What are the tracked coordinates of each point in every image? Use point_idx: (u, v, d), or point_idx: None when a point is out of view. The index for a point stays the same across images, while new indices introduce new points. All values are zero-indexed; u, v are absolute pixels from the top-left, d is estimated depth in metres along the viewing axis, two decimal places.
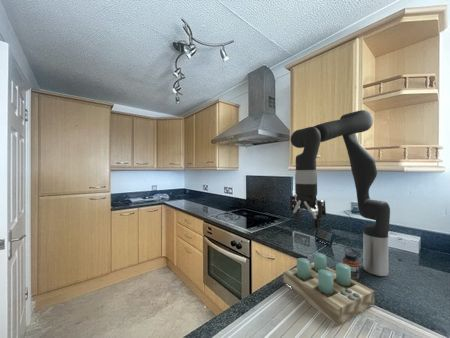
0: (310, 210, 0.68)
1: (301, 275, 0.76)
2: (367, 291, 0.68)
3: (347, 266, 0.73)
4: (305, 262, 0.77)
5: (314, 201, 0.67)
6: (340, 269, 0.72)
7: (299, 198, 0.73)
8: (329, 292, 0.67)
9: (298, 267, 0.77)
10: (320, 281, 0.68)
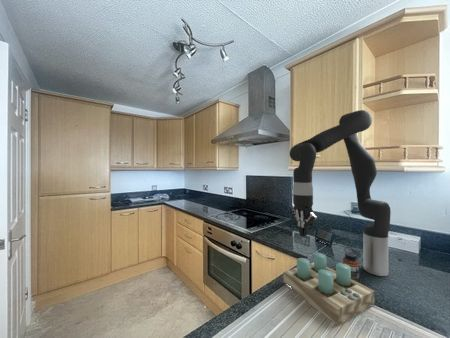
0: (302, 220, 0.76)
1: (301, 275, 0.76)
2: (367, 291, 0.68)
3: (347, 266, 0.73)
4: (305, 262, 0.77)
5: (309, 213, 0.74)
6: (340, 269, 0.72)
7: (296, 208, 0.79)
8: (329, 292, 0.67)
9: (298, 267, 0.77)
10: (320, 281, 0.68)
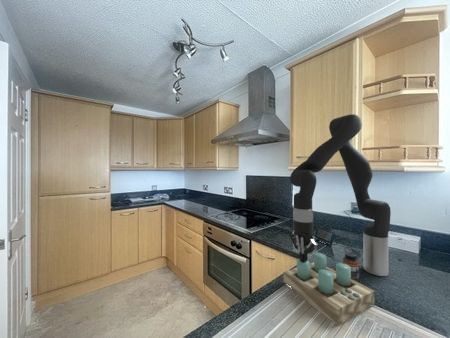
0: (302, 246, 0.76)
1: (301, 276, 0.76)
2: (367, 291, 0.68)
3: (347, 266, 0.73)
4: (305, 263, 0.77)
5: (309, 240, 0.74)
6: (340, 269, 0.72)
7: (296, 233, 0.79)
8: (329, 292, 0.67)
9: (298, 268, 0.77)
10: (320, 281, 0.68)
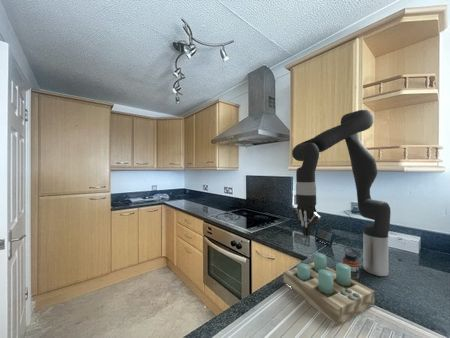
0: (305, 219, 0.76)
1: None
2: (367, 291, 0.68)
3: (347, 266, 0.73)
4: (305, 267, 0.77)
5: (313, 213, 0.74)
6: (340, 269, 0.72)
7: (299, 207, 0.79)
8: (329, 292, 0.67)
9: (298, 272, 0.77)
10: (320, 281, 0.68)
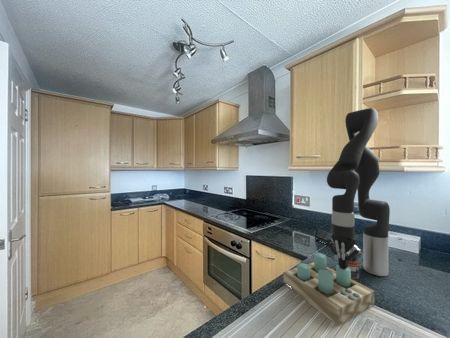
0: (343, 252, 0.72)
1: None
2: (367, 291, 0.68)
3: (347, 268, 0.73)
4: (305, 267, 0.77)
5: (352, 245, 0.69)
6: (340, 271, 0.72)
7: (335, 237, 0.75)
8: (329, 292, 0.67)
9: (298, 272, 0.77)
10: (320, 281, 0.68)
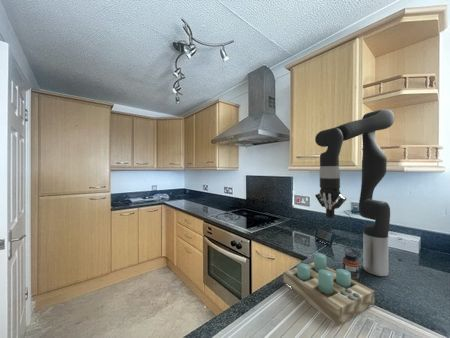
0: (329, 202, 0.79)
1: None
2: (367, 291, 0.68)
3: (347, 272, 0.73)
4: (305, 267, 0.77)
5: (337, 195, 0.77)
6: (340, 275, 0.72)
7: (323, 191, 0.82)
8: (329, 292, 0.67)
9: (298, 272, 0.77)
10: (320, 281, 0.68)
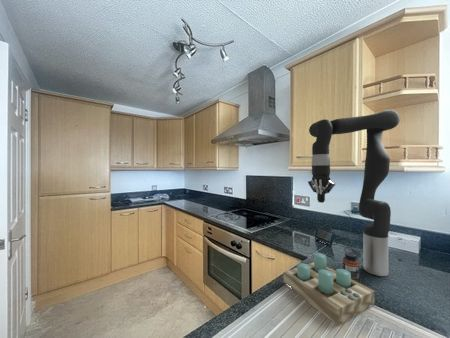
0: (320, 187, 0.87)
1: None
2: (367, 291, 0.68)
3: (347, 272, 0.73)
4: (305, 267, 0.77)
5: (327, 180, 0.84)
6: (340, 275, 0.72)
7: (315, 178, 0.90)
8: (329, 292, 0.67)
9: (298, 272, 0.77)
10: (320, 281, 0.68)
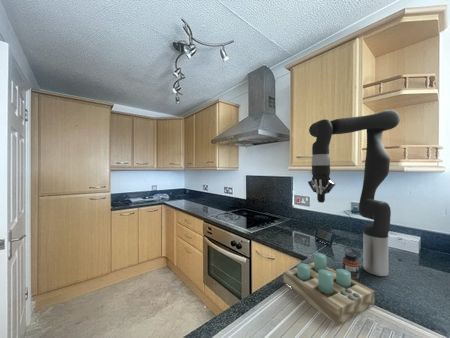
0: (320, 187, 0.87)
1: None
2: (367, 291, 0.68)
3: (347, 272, 0.73)
4: (305, 267, 0.77)
5: (327, 180, 0.84)
6: (340, 275, 0.72)
7: (315, 178, 0.90)
8: (329, 292, 0.67)
9: (298, 272, 0.77)
10: (320, 281, 0.68)
